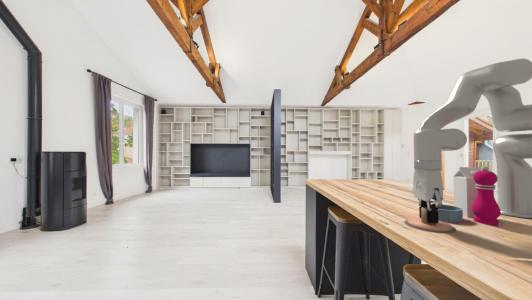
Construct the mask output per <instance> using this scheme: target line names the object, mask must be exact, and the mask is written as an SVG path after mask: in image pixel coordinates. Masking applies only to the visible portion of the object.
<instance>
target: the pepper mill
mask: <svg viewBox="0 0 532 300" xmlns="http://www.w3.org/2000/svg"><path fill="white" fill-rule="evenodd" d="M480 170H481V171H477V172H476V173H475V174H474V175H473V179H474V181H475V182H476V183H477V184H475V185H476V187H475V188H477V197H476V199H475V201H474V203H473V205H472V212H473V213H474V214H475V215H476V216H474V218H473V221H474V222H475V223H478V224H481V225H489V226H495V227H499V226H500V220H499V219H498V218H499V217H500V216H501V215H502V214H501V210H500V208H499V206H498V201H497V200H496V198H495V192H494V191H495V190H496V188H497V187H496V185H495V184H496V183H497V180H498V178H497V174H496V173H495V172H493V171H491V170H490V171H489V167H488V166H487V165H483V166H481V167H480Z"/></svg>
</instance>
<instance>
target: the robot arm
mask: <svg viewBox="0 0 532 300" xmlns="http://www.w3.org/2000/svg"><path fill="white" fill-rule="evenodd" d="M531 79H532V61H531V60H529V59H527V58H515V59H512V60H506V61H505V60H504V61H500V62H496V63H491V64H488V65H485V66H482V67H478V68H475V69H472V70H470V71H466V72H464V73H463V74H461V75H460V76H459V77H458V78H457V79H456V82H455V84H454V86H453V88H452V90H451V92H450V94H449V96H448V97H447V99H446V102H445V103H444V104H443V105H442V106H441V107H439V108H438V109H437V110H435V111H434V112H433V113H431V114H430V115H429V116H428V117H427V118H426V119H425V120H423V122H422V124H421V125H420V128H419V129H418V130H415V131H414V133H413V170H414V171H413V179H412V181H413V182H412V185H413V186H412V194H413V196H414V197H415V198H417V201H418V206H419V209H418V210H419V211H418V212H419V215H418V216H419V217H418V218H421V207H428V210H426V216H427V222H428V223H439V217H438V211H439V208H440V206H442V204H443V200H444V187H443V186H444V185H443V184H444V183H443V177H442V171H443V161H442V160H443V159H442V158H443V156H442V153H443V152H446V151H447V152H450V151H451V152H452V151H454V152H455V151H458V150H460V149H462V148H464V147H465V145H466V144H467V141H468V137H467V134H466V133H465V132H464V131H462V130H461V129H459V128H458V129H457V128H444V127H446V126H448V125H449V124H452V123H453V122H456V121H459V120H461V119H464V118H465V117H467V116H469V115H471V114H472V113H473V112H474V111H475V110H476V107H477V105H478V104H479V102H480V99H481V97H482V96H484V98H486V99H487V102H488V104H489V108H490V114H491V118H492V123H493V126H494V128H495V130H496V131H498V132H502V133H510V132H511V133H513V132H526V131H527V132H529V131H532V104H524V103H523V101H522V97H521V92H520V91H519V90H518V89H517V88H515V87H514V86H517V85H521V84H525V83H527V82H529V81H530V80H531ZM492 149H493V153H494V155H495V161H496V173H497V174H496V175H497V178H498V180H497V182H496V183H497V187H496V188H497V204H498V206H499V208H500V210H501V215H504V216H508V217H514V218H515V217H516V218H522V219H523V218H524V219H532V166H531V165H530V164H529V162H528V161H526V159H531V160H532V132H530V133H516V134H515V133H513V134H505V135H501V136H498V137H496V138H495V139H494V141H493V142H492ZM431 204H432V205H431Z"/></svg>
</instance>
